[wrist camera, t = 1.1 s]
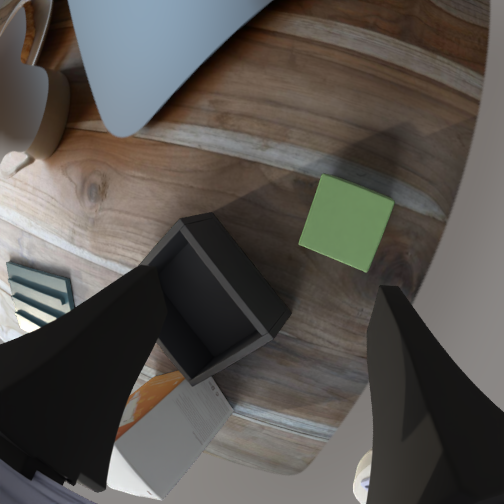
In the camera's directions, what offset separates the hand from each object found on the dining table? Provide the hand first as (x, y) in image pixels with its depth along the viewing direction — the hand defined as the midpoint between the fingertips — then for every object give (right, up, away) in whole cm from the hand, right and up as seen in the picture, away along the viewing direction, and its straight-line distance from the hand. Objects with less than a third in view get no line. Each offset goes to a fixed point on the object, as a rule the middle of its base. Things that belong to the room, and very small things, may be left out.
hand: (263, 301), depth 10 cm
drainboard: (-32, -7, +30) cm, 44 cm away
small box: (-7, -13, +21) cm, 25 cm away
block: (+7, +4, +11) cm, 14 cm away
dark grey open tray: (-4, -2, +17) cm, 17 cm away
